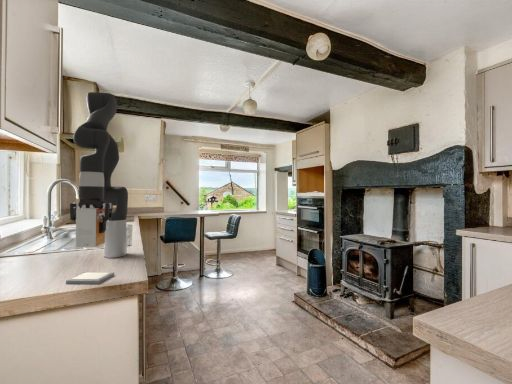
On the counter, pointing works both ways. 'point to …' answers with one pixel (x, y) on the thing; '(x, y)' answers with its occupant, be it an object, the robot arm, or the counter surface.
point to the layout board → (90, 278)
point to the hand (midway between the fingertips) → (91, 232)
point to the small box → (88, 227)
